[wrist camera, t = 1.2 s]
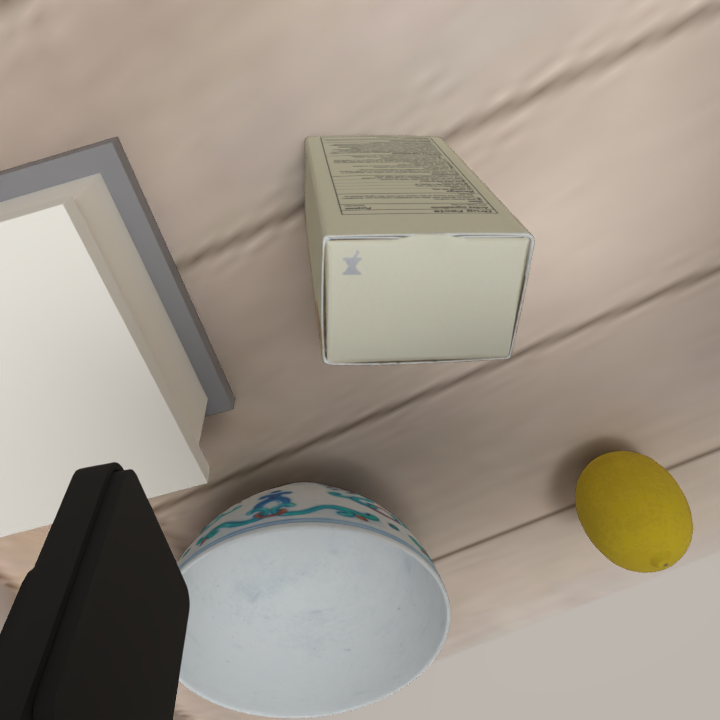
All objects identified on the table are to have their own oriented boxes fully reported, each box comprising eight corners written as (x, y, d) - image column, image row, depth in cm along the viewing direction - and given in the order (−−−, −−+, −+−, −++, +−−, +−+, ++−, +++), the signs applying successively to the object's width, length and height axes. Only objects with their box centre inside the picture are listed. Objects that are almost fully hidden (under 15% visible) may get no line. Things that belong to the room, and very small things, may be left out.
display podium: (117, 136, 28) (69, 185, 22) (234, 398, 35) (222, 488, 29) (-187, 227, 29) (-312, 298, 23) (-11, 464, 36) (-71, 565, 30)
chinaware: (122, 496, 38) (87, 609, 32) (350, 380, 35) (362, 477, 29) (266, 634, 45) (262, 748, 39) (464, 546, 43) (495, 654, 36)
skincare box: (304, 229, 31) (310, 370, 20) (303, 132, 29) (309, 234, 18) (441, 230, 31) (515, 366, 21) (451, 135, 29) (539, 234, 19)
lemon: (573, 508, 42) (628, 616, 35) (543, 449, 39) (596, 554, 32) (658, 471, 41) (731, 575, 34) (633, 408, 38) (707, 508, 31)
